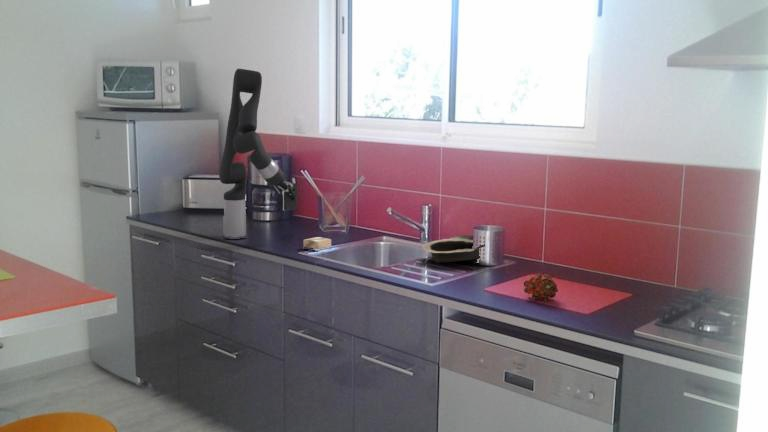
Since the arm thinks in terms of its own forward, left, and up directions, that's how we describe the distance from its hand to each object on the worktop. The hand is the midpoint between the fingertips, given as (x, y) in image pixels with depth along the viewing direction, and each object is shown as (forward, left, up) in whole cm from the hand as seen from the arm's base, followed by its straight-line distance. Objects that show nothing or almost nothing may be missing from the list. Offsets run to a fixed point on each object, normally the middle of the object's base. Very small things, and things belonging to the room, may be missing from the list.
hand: (291, 198), depth 297 cm
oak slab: (+13, +1, -20) cm, 24 cm away
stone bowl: (+69, +16, -20) cm, 74 cm away
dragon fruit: (+117, -12, -20) cm, 120 cm away
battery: (0, -2, -5) cm, 5 cm away
